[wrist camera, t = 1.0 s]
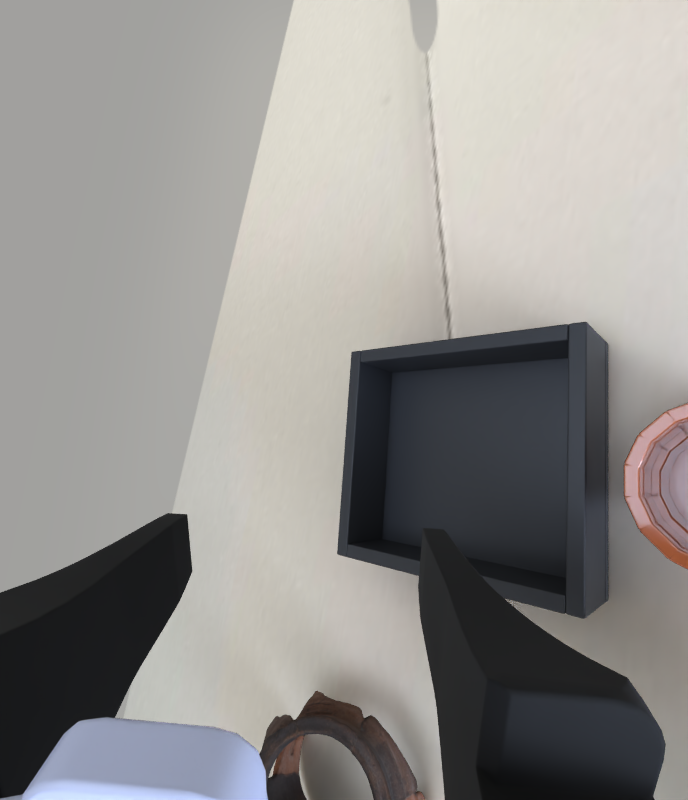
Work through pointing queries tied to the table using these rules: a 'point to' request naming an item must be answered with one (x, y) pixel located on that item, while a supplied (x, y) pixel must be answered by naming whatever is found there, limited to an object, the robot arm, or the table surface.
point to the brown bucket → (661, 483)
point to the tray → (485, 460)
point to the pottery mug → (352, 730)
